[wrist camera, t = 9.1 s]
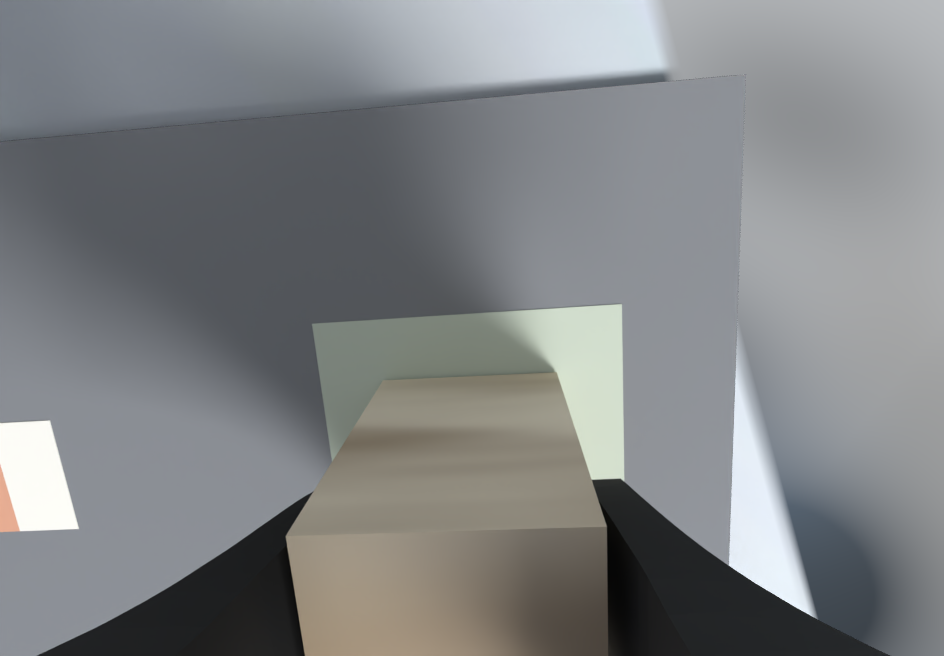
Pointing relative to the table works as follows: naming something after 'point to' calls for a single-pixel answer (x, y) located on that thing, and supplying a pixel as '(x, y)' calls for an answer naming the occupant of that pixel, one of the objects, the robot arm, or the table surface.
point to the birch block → (455, 527)
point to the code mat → (347, 315)
